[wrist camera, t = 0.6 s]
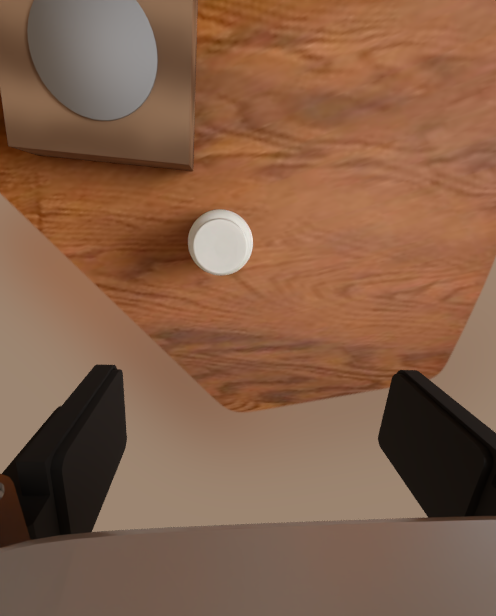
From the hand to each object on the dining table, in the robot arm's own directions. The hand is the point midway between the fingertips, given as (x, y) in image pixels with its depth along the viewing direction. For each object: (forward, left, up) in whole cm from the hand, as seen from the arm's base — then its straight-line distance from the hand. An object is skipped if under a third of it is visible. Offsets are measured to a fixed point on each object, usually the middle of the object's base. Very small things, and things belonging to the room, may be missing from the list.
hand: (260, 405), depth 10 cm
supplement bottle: (-4, -1, -23) cm, 24 cm away
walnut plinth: (-17, -11, -23) cm, 31 cm away
